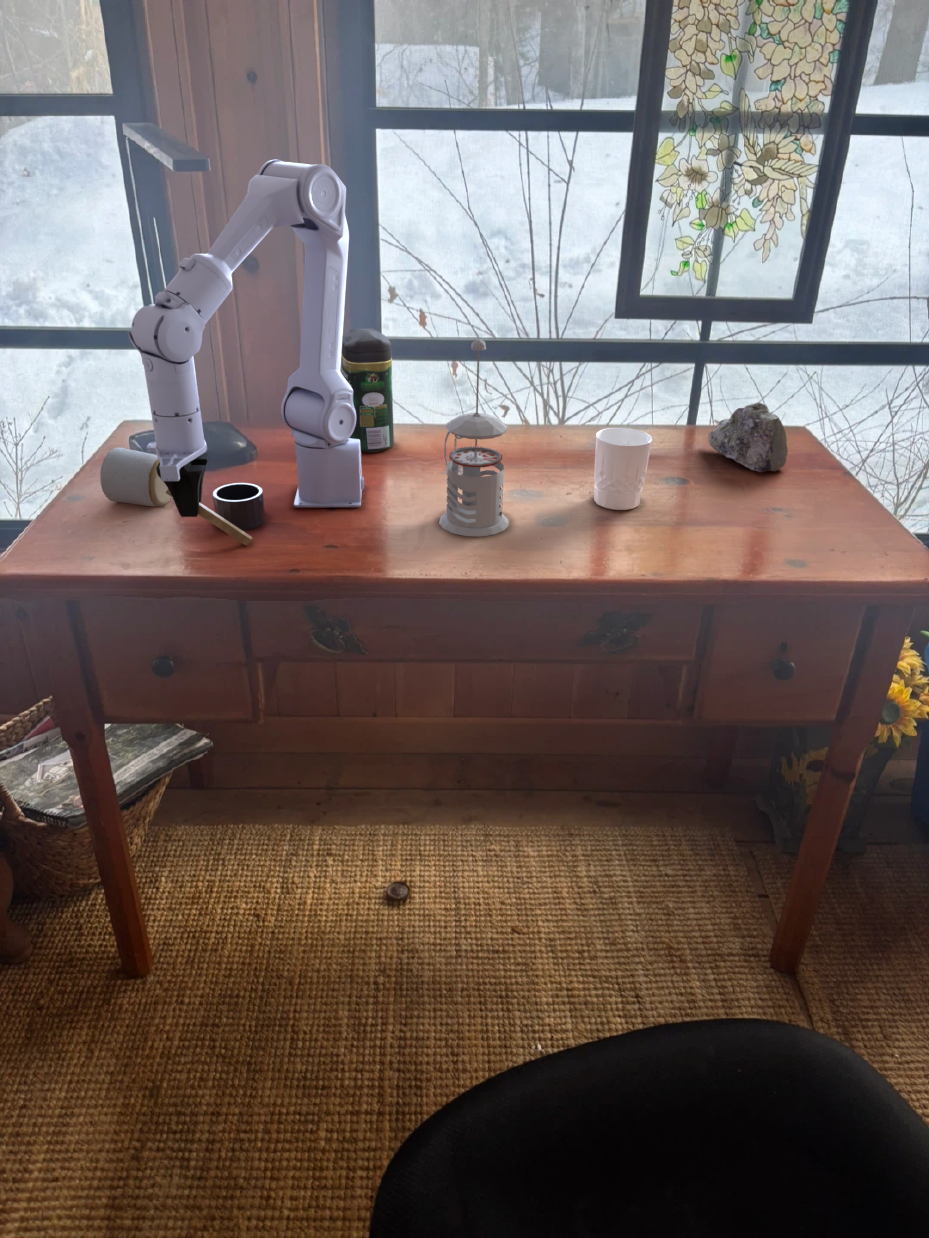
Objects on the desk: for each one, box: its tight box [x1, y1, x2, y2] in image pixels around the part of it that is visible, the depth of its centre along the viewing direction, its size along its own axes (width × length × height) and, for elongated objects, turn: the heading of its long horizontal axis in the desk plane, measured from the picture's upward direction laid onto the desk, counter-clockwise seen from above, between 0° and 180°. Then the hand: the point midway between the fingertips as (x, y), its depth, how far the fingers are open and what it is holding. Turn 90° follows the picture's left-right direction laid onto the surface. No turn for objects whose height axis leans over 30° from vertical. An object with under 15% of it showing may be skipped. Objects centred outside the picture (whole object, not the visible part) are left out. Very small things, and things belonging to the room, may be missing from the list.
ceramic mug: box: [99, 446, 173, 507], centre depth 130 cm, size 11×8×8 cm
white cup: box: [593, 426, 653, 511], centre depth 132 cm, size 8×8×10 cm
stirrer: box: [166, 489, 253, 547], centre depth 117 cm, size 10×1×8 cm, turn 93°
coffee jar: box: [341, 328, 395, 453], centre depth 149 cm, size 10×8×19 cm
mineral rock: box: [707, 401, 789, 473], centre depth 148 cm, size 13×11×10 cm
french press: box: [438, 338, 510, 538], centre depth 122 cm, size 10×12×25 cm
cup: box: [212, 482, 266, 532], centre depth 125 cm, size 7×7×4 cm
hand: (190, 513), depth 117 cm, fingers closed on stirrer, 1 cm apart
